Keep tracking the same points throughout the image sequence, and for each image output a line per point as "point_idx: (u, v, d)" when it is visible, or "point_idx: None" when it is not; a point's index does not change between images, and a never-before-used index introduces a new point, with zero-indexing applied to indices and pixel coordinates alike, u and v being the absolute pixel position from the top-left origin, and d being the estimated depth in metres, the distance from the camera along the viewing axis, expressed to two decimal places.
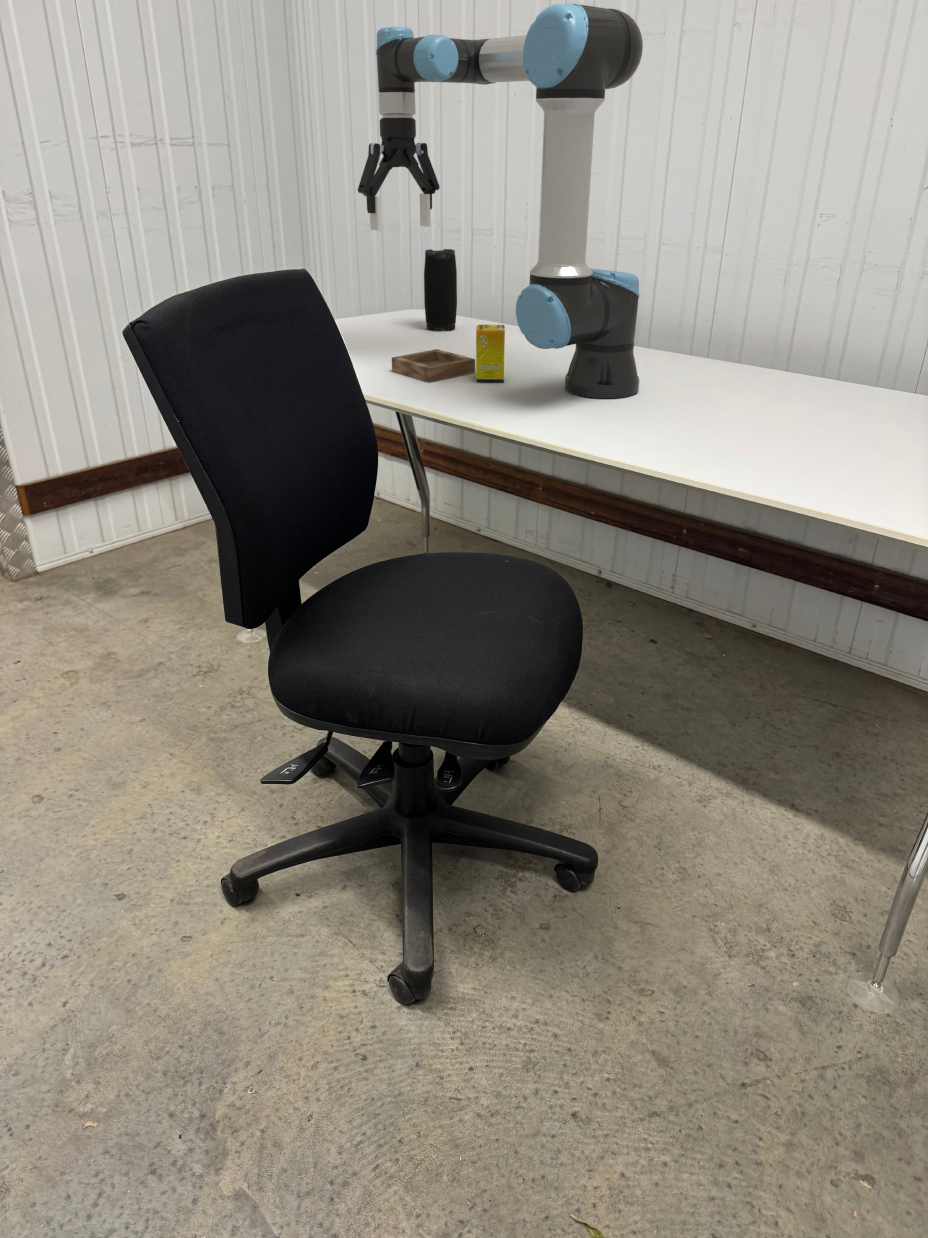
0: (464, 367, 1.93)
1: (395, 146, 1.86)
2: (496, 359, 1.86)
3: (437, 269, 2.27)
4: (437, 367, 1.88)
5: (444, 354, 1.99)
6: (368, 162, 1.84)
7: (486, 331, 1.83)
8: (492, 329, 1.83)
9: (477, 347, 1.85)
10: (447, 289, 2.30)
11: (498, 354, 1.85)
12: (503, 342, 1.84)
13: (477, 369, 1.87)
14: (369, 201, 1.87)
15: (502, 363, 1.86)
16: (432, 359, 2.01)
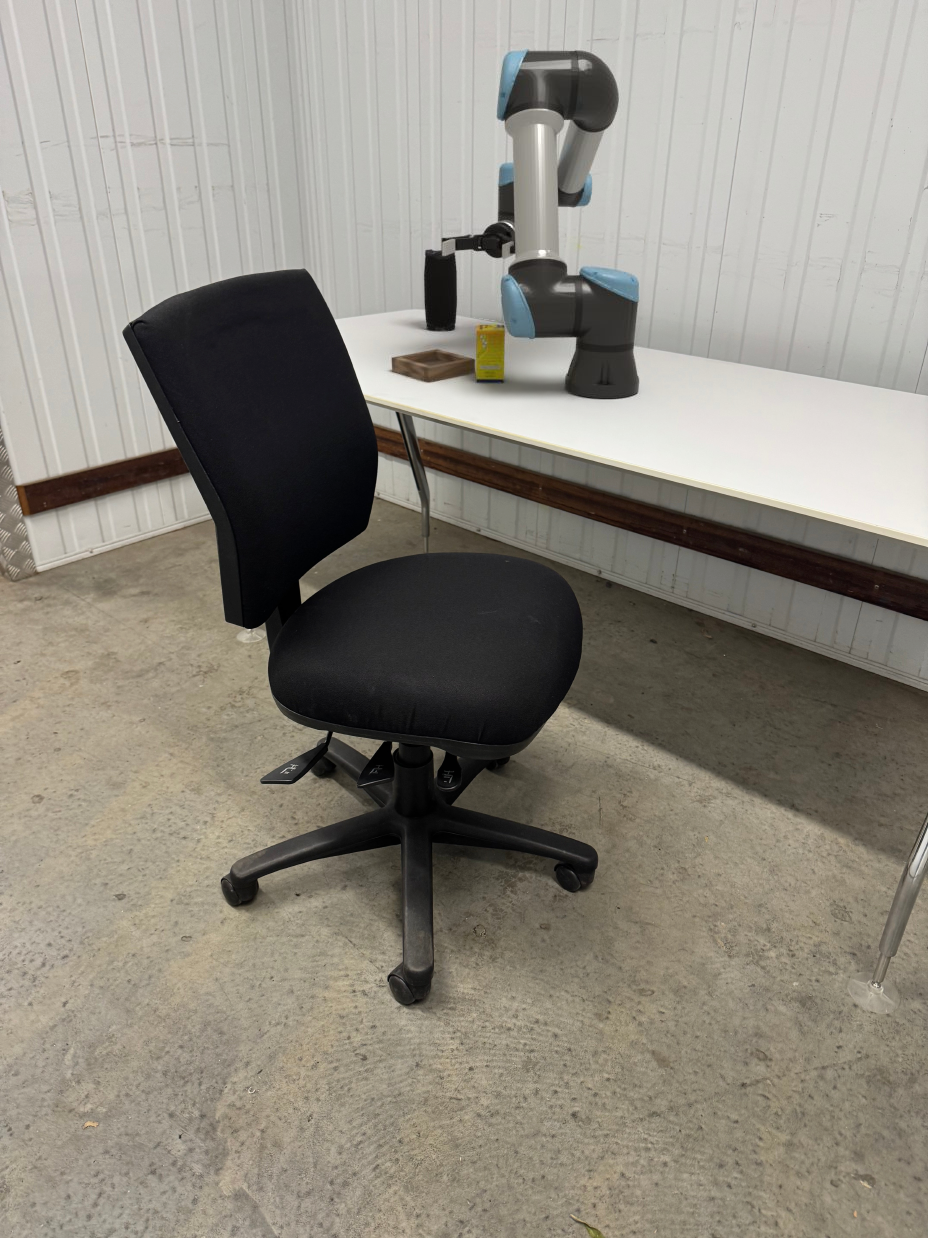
0: (464, 367, 1.93)
1: None
2: (496, 359, 1.86)
3: (437, 269, 2.27)
4: (437, 367, 1.88)
5: (444, 354, 1.99)
6: None
7: (486, 331, 1.83)
8: (492, 329, 1.83)
9: (477, 347, 1.85)
10: (447, 289, 2.30)
11: (498, 354, 1.85)
12: (503, 342, 1.84)
13: (477, 369, 1.87)
14: None
15: (502, 363, 1.86)
16: (432, 359, 2.01)
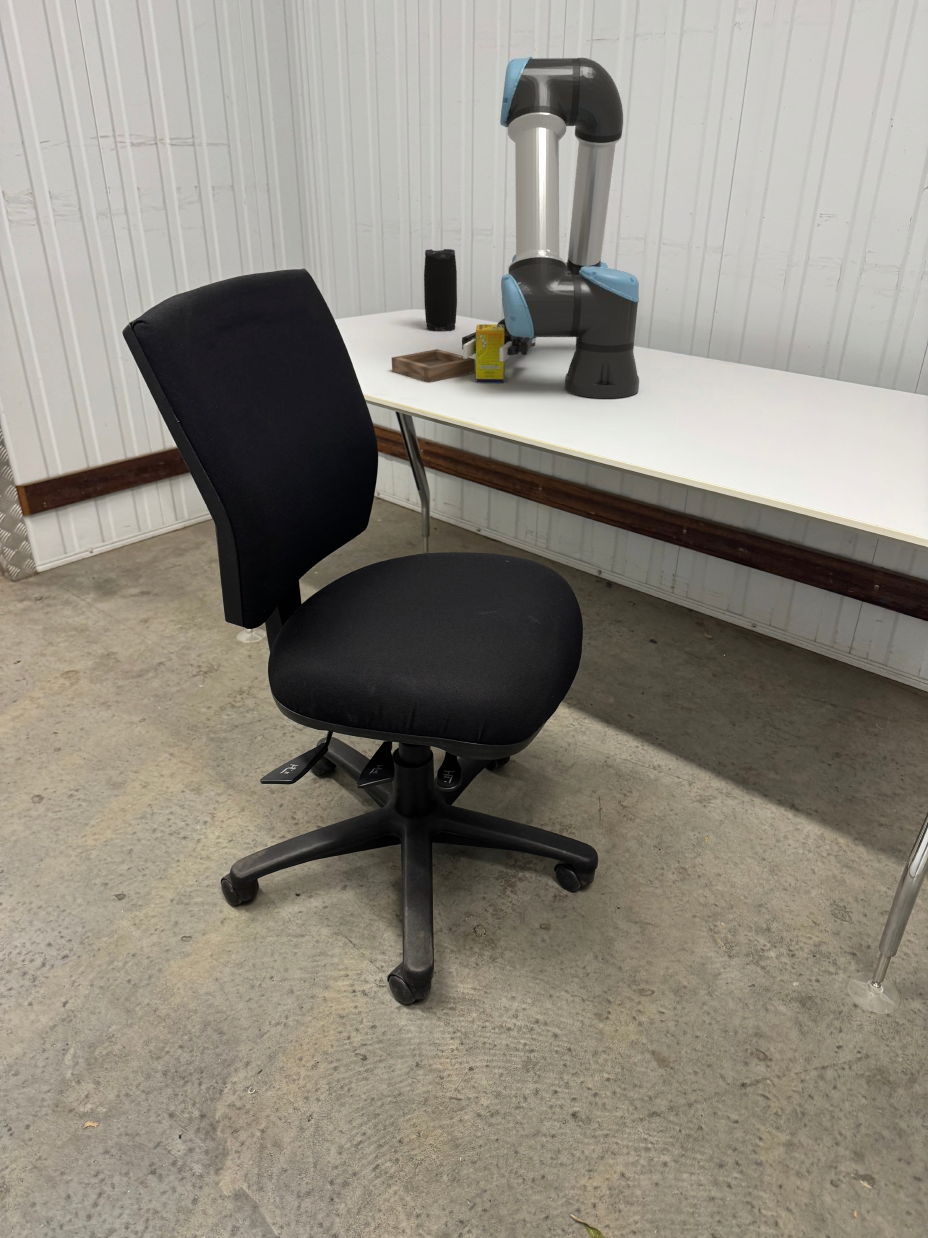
0: (464, 367, 1.93)
1: None
2: (496, 359, 1.86)
3: (437, 269, 2.27)
4: (437, 367, 1.88)
5: (444, 354, 1.99)
6: None
7: (486, 331, 1.83)
8: (492, 329, 1.83)
9: (477, 347, 1.85)
10: (447, 289, 2.30)
11: (498, 354, 1.85)
12: (503, 342, 1.84)
13: (477, 369, 1.87)
14: None
15: (502, 363, 1.86)
16: (432, 359, 2.01)
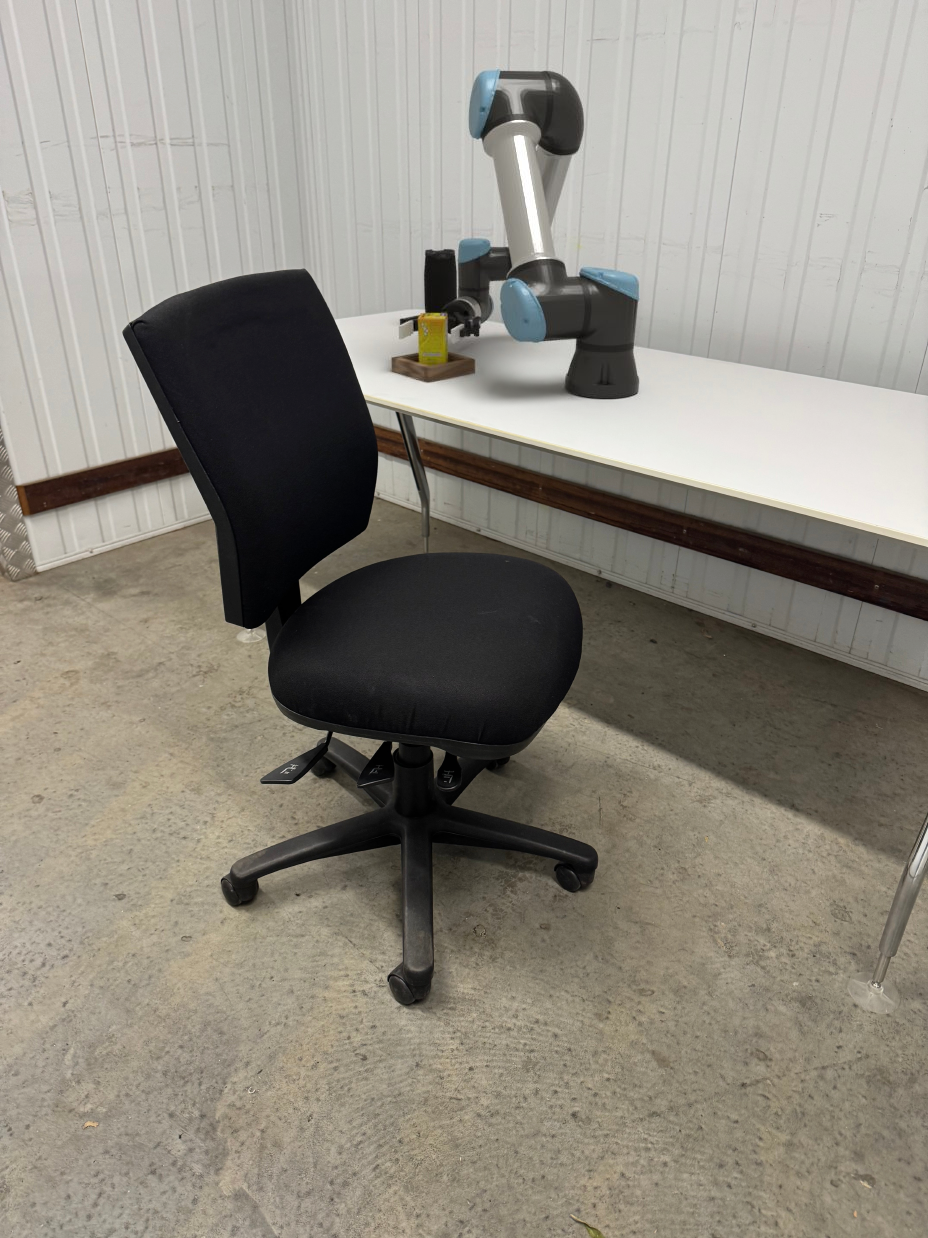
0: (464, 367, 1.93)
1: None
2: (437, 347, 1.91)
3: (437, 269, 2.27)
4: (437, 367, 1.88)
5: None
6: None
7: (427, 319, 1.88)
8: (433, 317, 1.89)
9: (419, 335, 1.90)
10: (447, 289, 2.30)
11: (440, 341, 1.90)
12: (444, 330, 1.89)
13: (419, 356, 1.92)
14: None
15: (443, 350, 1.91)
16: None
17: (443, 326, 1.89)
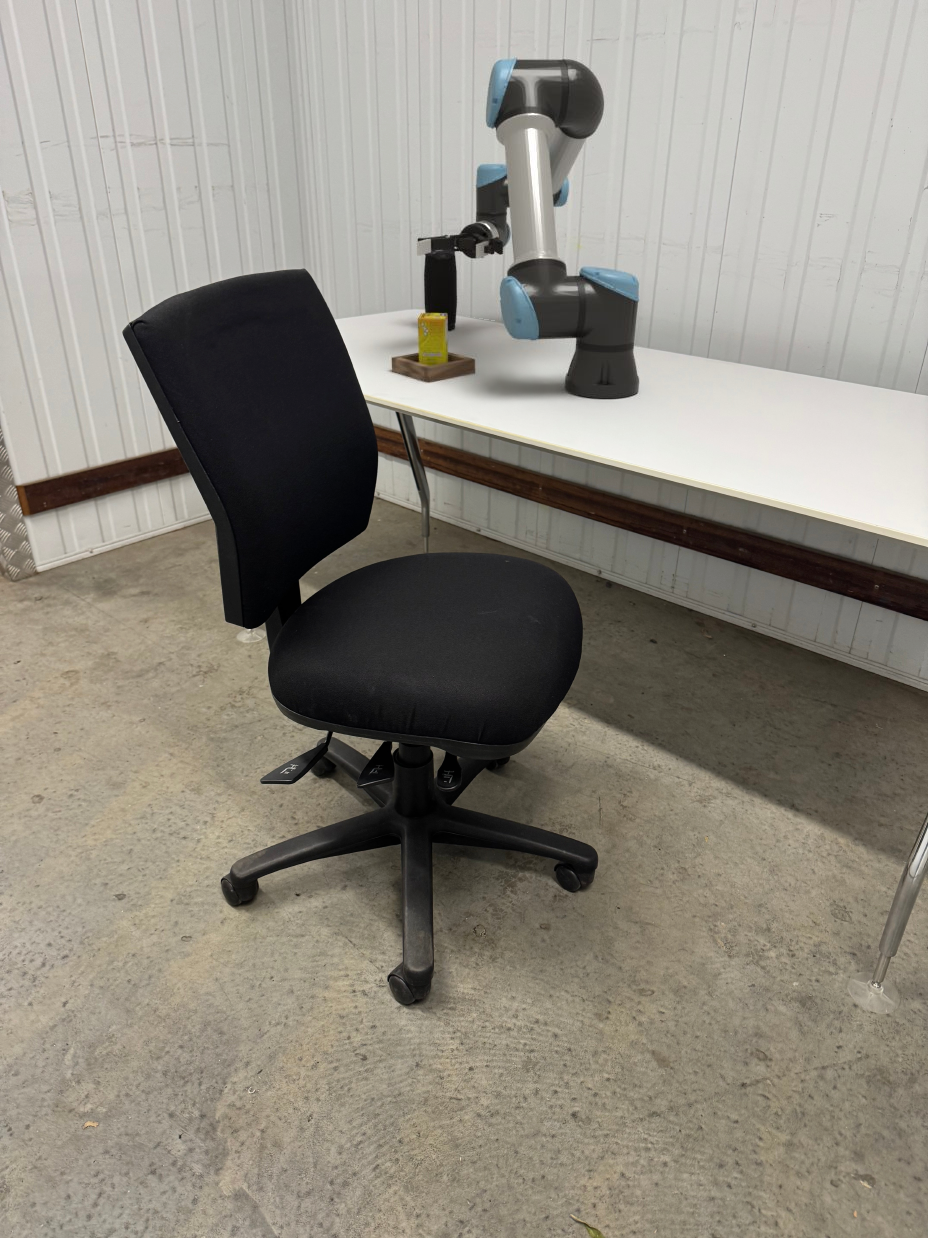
0: (464, 367, 1.93)
1: None
2: (437, 347, 1.91)
3: (437, 269, 2.27)
4: (437, 367, 1.88)
5: None
6: None
7: (427, 319, 1.88)
8: (433, 317, 1.89)
9: (419, 334, 1.90)
10: (447, 289, 2.30)
11: (440, 341, 1.90)
12: (444, 330, 1.89)
13: (419, 356, 1.92)
14: None
15: (443, 350, 1.91)
16: None
17: (443, 326, 1.89)
